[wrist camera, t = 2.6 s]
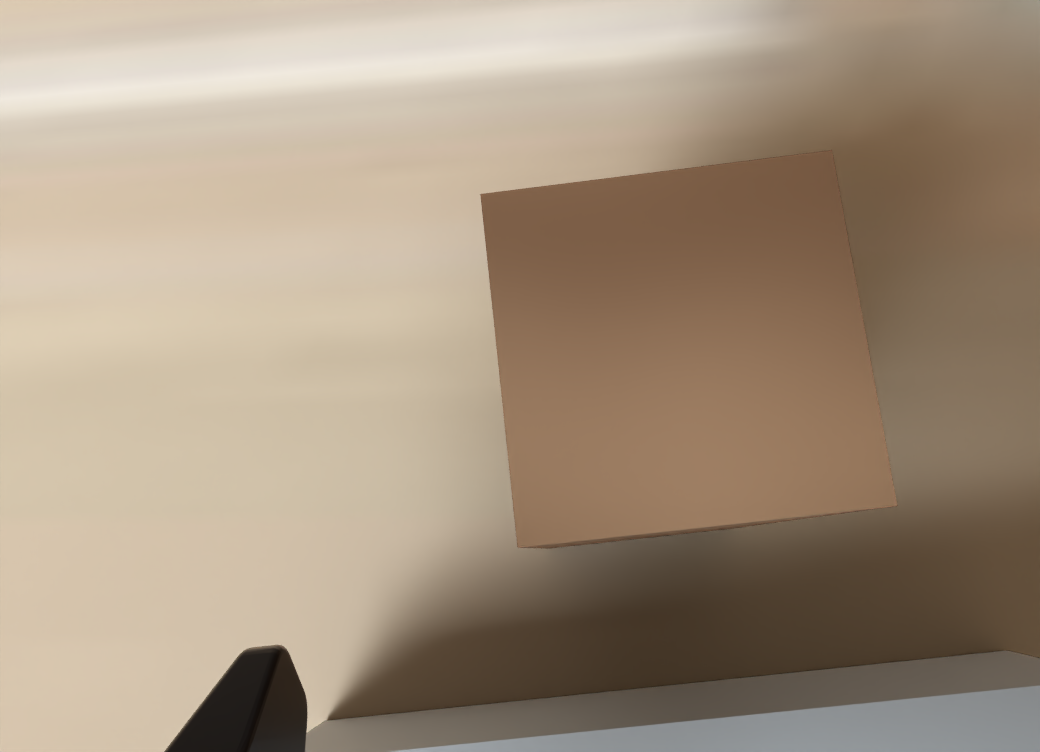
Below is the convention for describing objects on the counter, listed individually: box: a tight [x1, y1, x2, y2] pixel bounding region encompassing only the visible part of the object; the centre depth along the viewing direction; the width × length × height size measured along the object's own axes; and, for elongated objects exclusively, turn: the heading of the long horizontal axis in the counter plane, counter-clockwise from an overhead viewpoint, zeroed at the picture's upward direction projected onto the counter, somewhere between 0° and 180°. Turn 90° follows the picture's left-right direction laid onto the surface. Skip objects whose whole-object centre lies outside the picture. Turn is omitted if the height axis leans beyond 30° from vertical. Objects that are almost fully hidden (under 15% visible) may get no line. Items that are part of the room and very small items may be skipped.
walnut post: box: [481, 150, 897, 549], centre depth 15 cm, size 4×4×10 cm
